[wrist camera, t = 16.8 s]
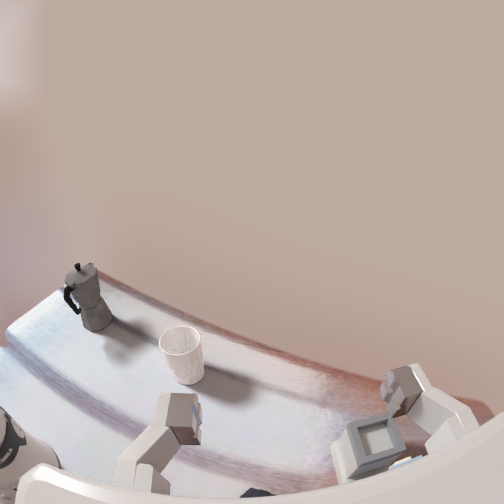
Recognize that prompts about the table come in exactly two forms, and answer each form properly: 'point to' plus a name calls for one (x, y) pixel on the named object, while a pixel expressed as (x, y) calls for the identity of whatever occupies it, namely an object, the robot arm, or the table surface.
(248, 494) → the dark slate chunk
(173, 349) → the white cup
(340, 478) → the stepped base with tray
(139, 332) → the table surface
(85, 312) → the coffeepot
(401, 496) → the robot arm
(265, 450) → the table surface
